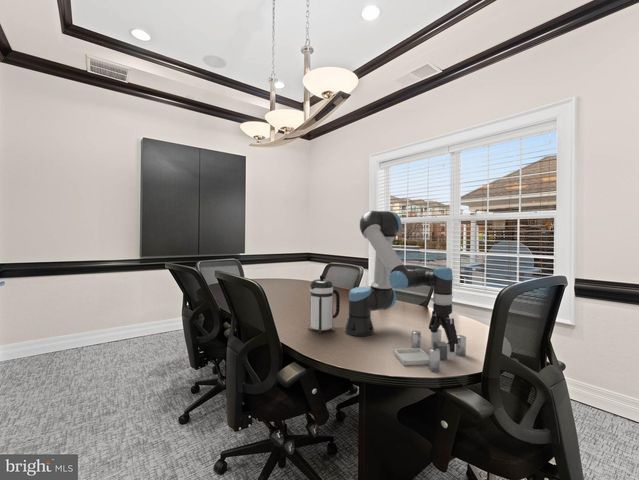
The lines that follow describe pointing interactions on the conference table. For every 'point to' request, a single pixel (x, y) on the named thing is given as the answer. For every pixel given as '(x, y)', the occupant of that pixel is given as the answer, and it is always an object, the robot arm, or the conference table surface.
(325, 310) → the coffee press
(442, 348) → the slate cube
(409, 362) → the tray
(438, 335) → the cylinder
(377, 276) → the robot arm
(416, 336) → the spacer
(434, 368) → the cylinder
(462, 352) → the cylinder
